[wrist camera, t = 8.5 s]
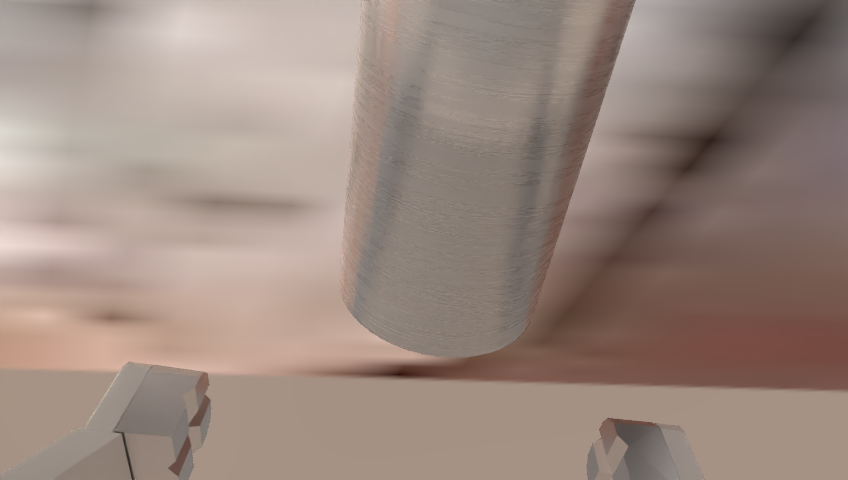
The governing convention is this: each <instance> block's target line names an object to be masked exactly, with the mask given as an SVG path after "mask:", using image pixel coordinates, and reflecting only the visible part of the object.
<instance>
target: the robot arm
mask: <svg viewBox="0 0 848 480" xmlns="http://www.w3.org/2000/svg"><path fill="white" fill-rule="evenodd" d="M208 386H209V379H208V373H206V372H201V371H194V370H187V369H180V368H173V367H166V366H159V365H150V364H142V363H134V362H128V363H127V364H126V365H125V366H123V367H122V368H121V370H120V371H119V373H118V375H117V376H116V378H115V379H114V381H113V382H112V384H111V386H110V387H109V389H108V390H107V392H106V394H105V395H104V397H103V398H102V400H101V402H100V403H99V405H98V406H97V408H96V410H95V411H94V413H93V414H92V416H91V418H90V419H89V421H88V422H87V424H86V425H85V427H84V429H78V428H77V429H76V428H75V429H73V430H72V431H70V432H68V433H67V434H65V435H64V436H62V437H60V438H59V439H57V440H56V441H54V442H52V443H51V444H49V445H47V446H46V447H44V448H43V449H41V450H39V451H38V452H36V453H35V454H33V455H31V456H30V457H28V458H26V459H25V460H23V461H22V462H20V463H18V464H17V465H15V466H13V467H12V468H10V469H9V470H7V471H5V472H4V473H2V474H1V475H0V480H189V477H190V475H191V472H192V470H193V468H194V464H193V455H192V454H193V453H194V452H196V450H198V449H200V448H201V447H202V445H203V443H204V440H205V438H206V435H207V431H208V427H209V423H210V418H211V400H210V399H209V398H208V397H207V396H206V395H205V393H206V391H207V389H208ZM599 431H600V434H601V438H600V439H599V440H597V441H595V442H594V443H592V446H591V448H590V451H589V453H588V460H587V476H588V480H705V479H704V477H703V474H702V472H701V470H700V467H699V465H698V463H697V461H696V458H695V456H694V454H693V451H692V449H691V447H690V445H689V442H688V440H687V437H686V435H685V433H684V430H683V429H681V427H680V426H675V425H666V424H657V423H652V422H642V421H632V420H623V419H613V418H607V419H606V420H605V421H603V423H602V425H601V427H600V429H599Z"/></svg>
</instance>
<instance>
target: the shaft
mask: <svg viewBox="0 0 848 480" xmlns="http://www.w3.org/2000/svg"><path fill="white" fill-rule="evenodd" d="M635 1H636V0H362V5H361V18H360V30H359V43H358V55H357V68H356V81H355V93H354V106H353V118H352V131H351V143H350V156H349V169H348V181H347V194H346V206H345V219H344V231H343V244H342V257H341V269H340V291H341V295H342V298H343V300H344V302H345V304H346V306H347V308H348V310H349V311H350V312H351V314H352V315H353V316H354V317H355V318H356V319H357V320H358V321H359V323H360V324H361V325H363V326H364V327H365V328H366V329H368V330H369V331H370V332H372V333H373V334H375V335H376V336H378V337H380V338H381V339H383V340H385V341H387V342H389V343H391V344H393V345H396V346H398V347H401V348H404V349H406V350H409V351H413V352H417V353H421V354H425V355H431V356H438V357H451V358H453V357H471V356H479V355H483V354H487V353H491V352H494V351H497V350H499V349H502V348H504V347H506V346H507V345H509V344H511V343H513V342H514V341H515V340H516V339H518V338H519V337H520V336H521V335H522V334H523V333H524V331H525V330H526V329H527V327H528V325H529V324H530V322H531V318H532V315H533V312H534V309H535V306H536V303H537V300H538V297H539V294H540V291H541V288H542V285H543V282H544V279H545V276H546V273H547V270H548V267H549V263H550V260H551V257H552V254H553V251H554V248H555V245H556V242H557V239H558V236H559V233H560V230H561V227H562V224H563V221H564V218H565V215H566V212H567V208H568V205H569V202H570V199H571V196H572V193H573V190H574V187H575V184H576V181H577V178H578V175H579V172H580V169H581V166H582V163H583V160H584V157H585V153H586V150H587V147H588V144H589V141H590V138H591V135H592V132H593V129H594V126H595V123H596V120H597V117H598V114H599V111H600V108H601V105H602V102H603V98H604V95H605V92H606V89H607V86H608V83H609V80H610V77H611V74H612V71H613V68H614V65H615V62H616V59H617V56H618V53H619V50H620V47H621V43H622V40H623V37H624V34H625V31H626V28H627V25H628V22H629V19H630V16H631V13H632V10H633V7H634V4H635Z"/></svg>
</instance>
